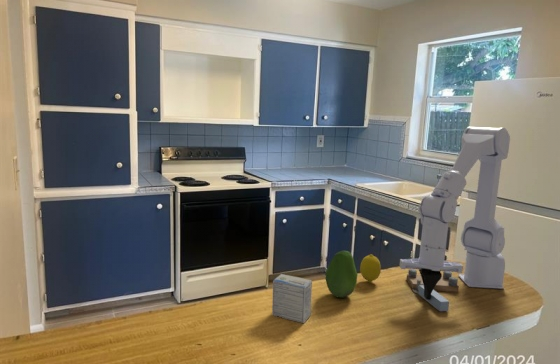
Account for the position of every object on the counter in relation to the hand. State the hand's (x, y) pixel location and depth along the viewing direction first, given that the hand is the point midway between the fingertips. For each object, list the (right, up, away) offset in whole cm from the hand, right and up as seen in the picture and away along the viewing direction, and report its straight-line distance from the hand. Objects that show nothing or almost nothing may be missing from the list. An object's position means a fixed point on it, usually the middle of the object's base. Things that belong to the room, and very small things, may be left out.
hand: (427, 298), depth 99 cm
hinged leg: (+1, -1, +1) cm, 2 cm away
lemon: (-12, +1, +13) cm, 17 cm away
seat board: (+5, 0, +12) cm, 13 cm away
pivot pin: (0, 0, +7) cm, 7 cm away
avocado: (-21, -1, +3) cm, 21 cm away
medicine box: (-34, -2, -8) cm, 35 cm away
